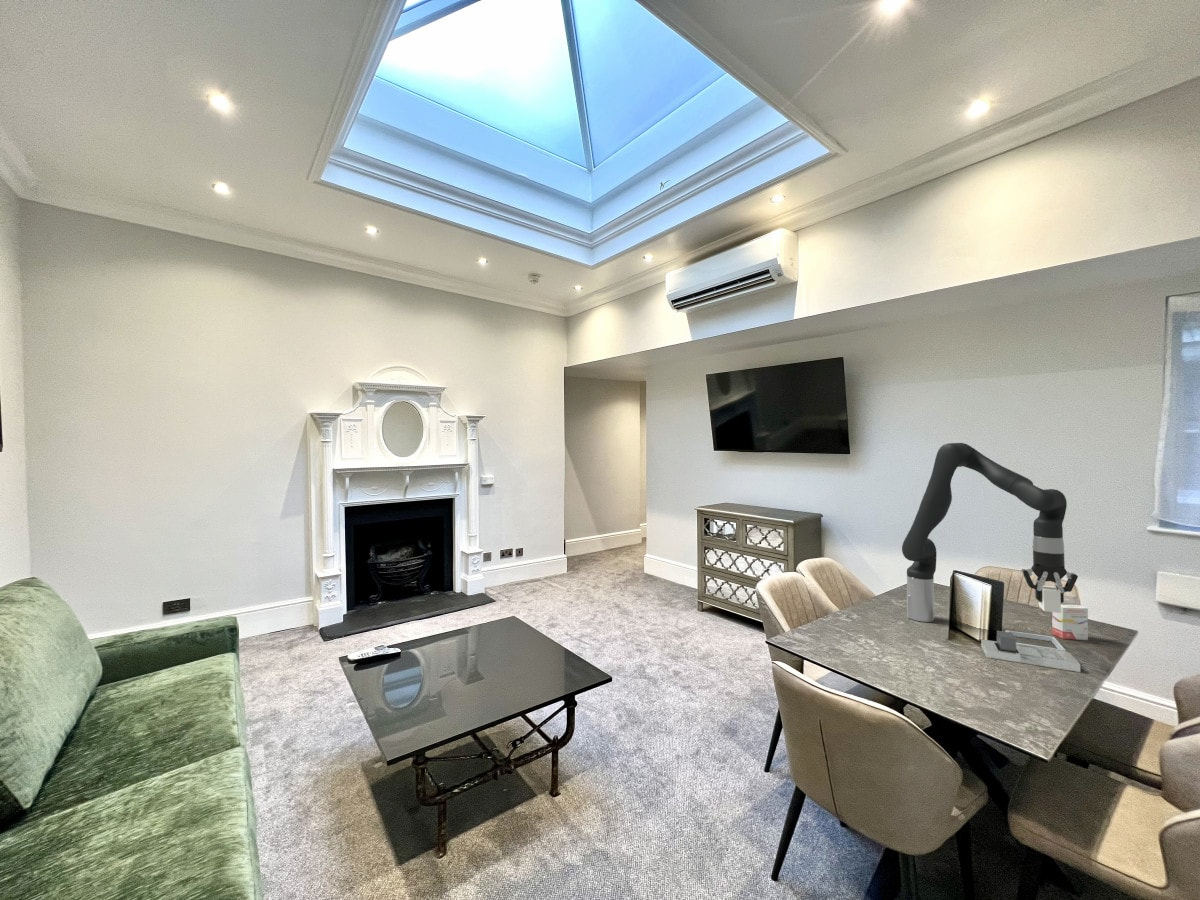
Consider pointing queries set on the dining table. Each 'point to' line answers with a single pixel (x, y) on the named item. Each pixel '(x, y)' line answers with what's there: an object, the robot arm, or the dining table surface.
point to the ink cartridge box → (1071, 620)
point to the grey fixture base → (1027, 653)
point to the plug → (1050, 599)
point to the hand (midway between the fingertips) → (1049, 602)
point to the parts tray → (1040, 637)
